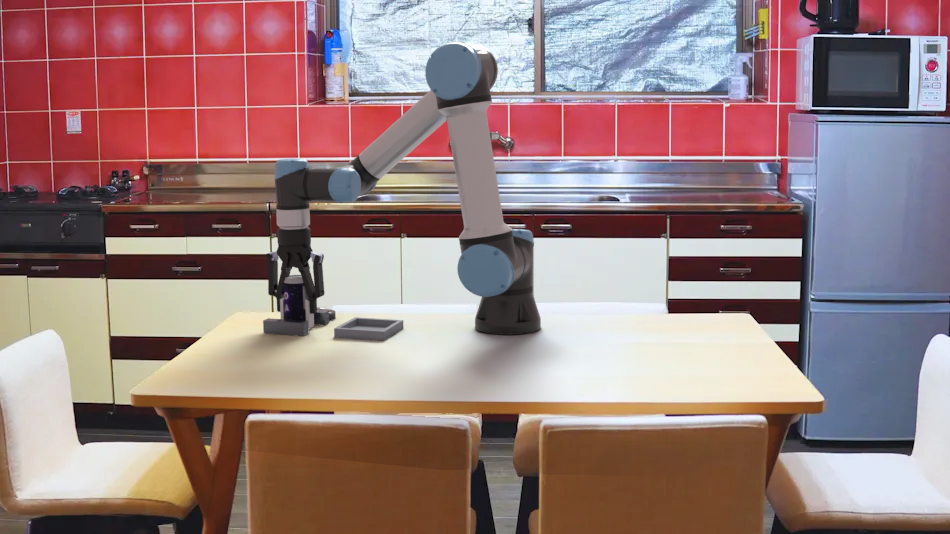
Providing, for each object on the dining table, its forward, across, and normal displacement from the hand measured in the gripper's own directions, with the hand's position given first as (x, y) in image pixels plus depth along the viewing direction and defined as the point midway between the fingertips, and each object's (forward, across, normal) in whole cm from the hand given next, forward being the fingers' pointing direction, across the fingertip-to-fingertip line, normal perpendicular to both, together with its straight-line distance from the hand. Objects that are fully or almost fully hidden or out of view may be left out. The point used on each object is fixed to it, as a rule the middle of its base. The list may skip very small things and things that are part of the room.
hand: (297, 326), depth 255 cm
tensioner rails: (+1, 0, -4) cm, 4 cm away
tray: (+1, -18, 0) cm, 18 cm away
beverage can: (+1, 0, 0) cm, 1 cm away
